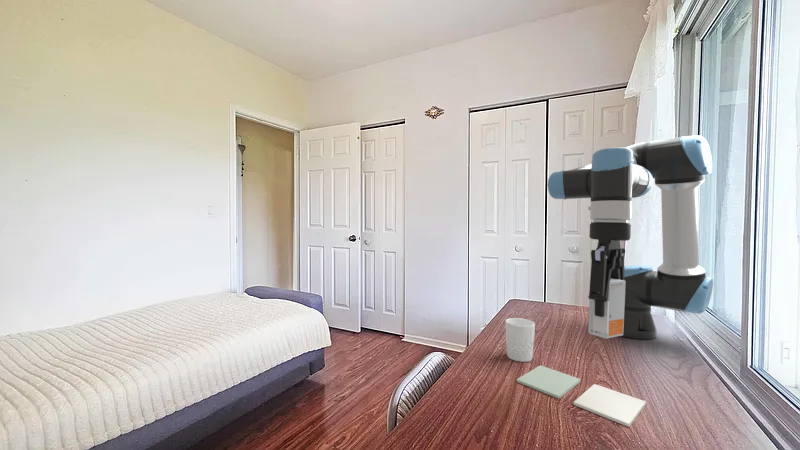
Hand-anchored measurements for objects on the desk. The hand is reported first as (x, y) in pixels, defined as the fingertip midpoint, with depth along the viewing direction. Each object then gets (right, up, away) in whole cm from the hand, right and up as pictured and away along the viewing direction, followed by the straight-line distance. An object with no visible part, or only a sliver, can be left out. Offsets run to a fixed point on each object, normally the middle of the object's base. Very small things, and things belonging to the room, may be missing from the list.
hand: (606, 327), depth 73 cm
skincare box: (0, -2, 0) cm, 2 cm away
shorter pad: (-9, -15, +8) cm, 20 cm away
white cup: (-11, -15, +22) cm, 29 cm away
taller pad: (0, -16, -2) cm, 16 cm away
